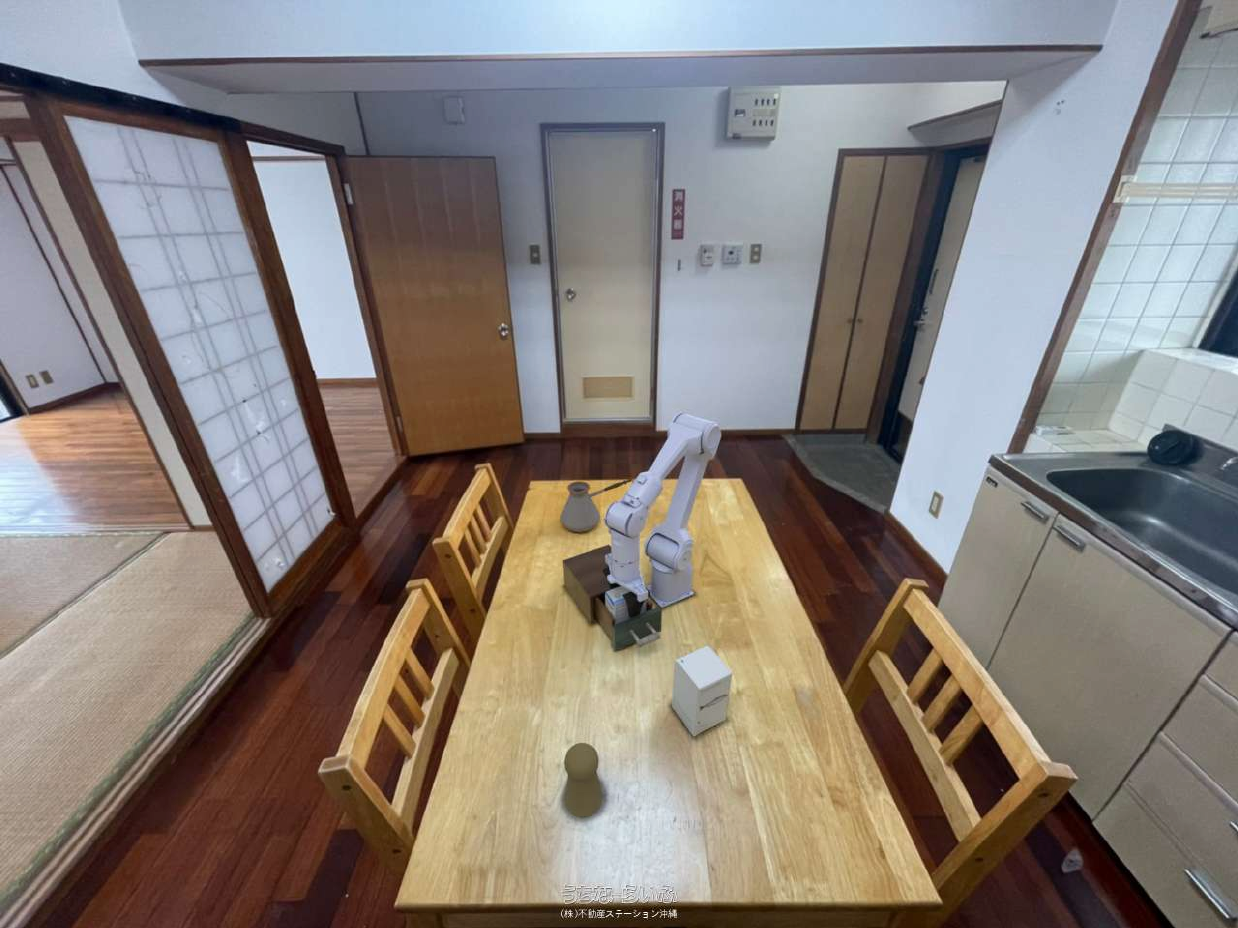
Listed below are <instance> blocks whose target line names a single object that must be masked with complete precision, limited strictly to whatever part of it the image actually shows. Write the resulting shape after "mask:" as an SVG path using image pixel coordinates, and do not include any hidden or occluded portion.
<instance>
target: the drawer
mask: <svg viewBox="0 0 1238 928" xmlns="http://www.w3.org/2000/svg"><path fill="white" fill-rule="evenodd" d="M653 606H654V605H653V603H652V601H651V600H650V599H649V598H648V599H647V600H646V612H643V613H641V614H639V615H636V616H634V617H632V618H629V619H627V620H624V621H622V622H620V623H617V624H615V619H614V617H613V616H612V615H611V613H610V612H609V611H608V609H607V608H606V607H605V594H604V595H601V596H599V597H596V598H593V608H594V616H595V618H596V619H597V620H598V622H597V623H598V624H599V625H600V626H601V628H602V629H603V630H604V632H605V633H606V634H607V636H608V638H609V639H610V640H611V642H612V643H611V644H612V649H613V650H614V652H617V651H620V650H622V649H624V648H626V647H628V646H631V645H633V644H635V643H636V646H637V648H638V649H639V648H642V647H644V646H646V645H648V644H651V643H653V642H656V641H658V640H660V639H661V633H660V632H662V616H663V615H662V613H663V608H661V607H660V606H659V605H657V606H656V607H653Z"/></svg>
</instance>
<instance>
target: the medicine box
mask: <svg viewBox="0 0 1238 928" xmlns="http://www.w3.org/2000/svg"><path fill="white" fill-rule="evenodd" d="M628 592H631V591H630V590H628V589H626V588H625V587H623V586H619V587H617V588H614V589H612V590H609V591H607V592H605V607H606V608H607V609H608V611H609V612H610V613H611V615H612V616H613V617H614V619H615V624H617V623H620V622H622V621H624V620H627V619H629V618H630V617H629V614H628V608H627V604H626V601H625V599H624V598H623V597H622V595H623V594H625V593H628ZM643 612H646V601H645V602H644V604H643V606H642V608H641V611H640V614H641V613H643Z"/></svg>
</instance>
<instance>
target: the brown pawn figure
mask: <svg viewBox="0 0 1238 928" xmlns="http://www.w3.org/2000/svg"><path fill="white" fill-rule="evenodd" d="M599 761H600V760H599V754H598V752H597V750H596V749H595V748H594V747H593V746H592V745H591V744H590V743H585V742H578V743H575V744H574V745H572V746H570V747H569V749H568V750H567V751H566V753H565V756H564V761H563V763H564V765H563V766H564V770H565V772H566V774H567V778H566V786H565V793H564V794H565V795H564V805H565V807H566V809H567V812H569V813H570V814H571V815H572V816H574V817H577V818H581V819H584V818H585V819H586V818H588V817H589V818H590V817H592V816H593V815H595V814H596V813H597V812H598V811H599V809H600V808H601V806H602V804H603V797H604V796H603V790H602V786H601V783H600V778H599V775H598V771H597V770H598V768H599V763H600V762H599Z"/></svg>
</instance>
